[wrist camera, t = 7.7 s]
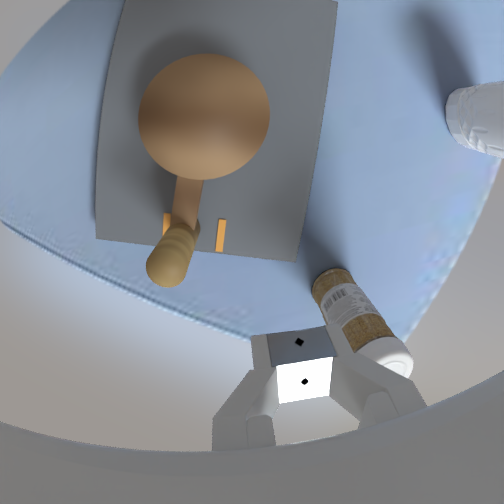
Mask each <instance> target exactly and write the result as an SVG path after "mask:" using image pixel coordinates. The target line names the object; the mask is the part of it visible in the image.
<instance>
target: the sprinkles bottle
mask: <svg viewBox="0 0 504 504" xmlns="http://www.w3.org/2000/svg"><path fill="white" fill-rule="evenodd" d="M312 295H313V298H314V300H315V302H316V303H317V304H318V306H319V308H320V310H321V312H322V314H323V318H324V321H325V323H326V325H329V324H334V323H338V324H339V325H340V327H341V329H342V331H343V333H344V335H345V336H346V338H347V340H348V342H349V344H350V346H351V348H352V350H353V352H354V353H357V352H358V353H360V354H362V355H364V356H366V357H368V358H369V359H371V360H373V361H375V362H377V363H379V364H381V365H383V366H384V367H386V368H388V369H390V370H392V371H394V372H396V373H398V374H400V375H402V376H404V377H406V378H408V377H409V376H410V374H411V372H412V369H413V358H412V355H411V354H410V352H409V351H408V349H407V348H406V346H405V345H404V343H403V342H402V341H401V340H399V339H398V338H397V337H396V336H395V335H394V334H393V333H392V331H391V330H390V328H389V327H388V326H387V324H386V322H385V320H384V319H383V318H382V316H381V315H380V313H379V312H378V311H377V310H376V308H375V307H374V305H373V304H372V303H371V301H370V300H369V299H368V297H367V296H366V295H365V293H364V292H363V291H362V289H361V288H360V287H358V285H357V284H356V283H355V282H354V280H353V278H352V276H351V274H350V273H349V272H347V271H346V270H344V269H337V268H334V269H329V270H327V271H325V272H323V273H322V274H321V275H320V276H319V277H318V278H317V279H316V280H315V282H314V285H313V289H312Z"/></svg>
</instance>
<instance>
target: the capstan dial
mask: <svg viewBox="0 0 504 504" xmlns="http://www.w3.org/2000/svg"><path fill="white" fill-rule="evenodd" d="M269 121H270V107H269V101H268V97H267V94H266V91H265V89H264V87H263V85H262V83H261V82H260V80H259V79H258V78H257V76H256V75H255V74H254V73H253V72H252V71H251V70H250V69H249V68H248V67H246V66H245V65H243V64H242V63H240V62H238V61H237V60H235V59H232V58H230V57H227V56H223V55H218V54H196V55H190V56H187V57H184V58H181V59H179V60H177V61H174V62H173V63H171V64H169V65H168V66H166V67H165V68H164V69H163V70H161V71H160V72H159V73H158V74H157V75H156V76H155V77H154V78H153V80H152V81H151V82H150V84H149V85H148V87H147V88H146V90H145V92H144V94H143V97H142V99H141V103H140V106H139V113H138V126H139V132H140V136H141V139H142V142H143V144H144V146H145V148H146V150H147V151H148V153H149V154H150V156H151V157H152V158H153V159H154V160H155V161H156V162H157V163H158V164H159V165H160V166H161V167H163V168H164V169H165V170H167V171H169V172H171V173H173V174H175V175H178V176H177V182H176V188H175V194H174V201H173V208H172V215H171V222H170V226H169V228H168V229H167V231H166V232H165V233H164V235H163V236H162V238H161V239H160V241H159V242H158V244H157V245H156V247H155V248H154V250H153V251H152V253H151V254H150V256H149V257H148V259H147V262H146V271H147V274H148V276H149V278H150V279H151V280H152V281H153V282H154V283H156V284H157V285H159V286H162V287H174V286H177V285H178V284H180V283H181V282H182V281H183V279H184V278H185V275H186V272H187V269H188V266H189V263H190V260H191V257H192V254H193V251H194V248H195V245H196V242H197V239H198V236H199V233H200V223H199V221H198V220H197V217H198V211H199V205H200V199H201V194H202V188H203V183H204V180H207V179H214V178H218V177H222V176H225V175H227V174H230V173H232V172H234V171H236V170H237V169H239V168H241V167H242V166H243V165H245V164H246V163H247V162H248V161H249V160H250V159H251V158H252V157H253V156H254V155H255V154H256V153H257V151H258V150H259V148H260V147H261V145H262V143H263V141H264V139H265V137H266V134H267V131H268V127H269Z"/></svg>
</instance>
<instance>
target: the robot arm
mask: <svg viewBox="0 0 504 504" xmlns="http://www.w3.org/2000/svg"><path fill="white" fill-rule="evenodd" d="M251 346H252V355H253V364H254V370H249V372H248V373H247V374H246V376H245V377H244V378H243V380H242V381H241V382H240V384H239V385H238V386H237V388H236V389H235V390H234V392H233V393H232V394H231V395H230V397H229V398H228V399H227V401H226V402H225V403H224V405H223V406H222V407H221V408H220V410H219V411H218V412H217V413H216V415H215V416H214V417H213V429H212V431H213V432H212V451H202V452H175V451H151V450H150V451H149V450H136V449H125V448H116V447H108V446H101V445H93V444H88V443H82V442H76V441H71V440H66V439H61V438H56V437H52V436H48V435H44V434H40V433H36V432H32V431H29V430H25V429H21V428H19V427H15V426H12V425H9V424H6V423H3V422H1V421H0V504H504V370H503V371H502V372H500V373H498V374H496V375H494V376H493V377H491V378H489V379H487V380H485V381H483V382H481V383H479V384H477V385H475V386H473V387H471V388H469V389H467V390H465V391H463V392H461V393H459V394H457V395H454V396H452V397H450V398H448V399H445V400H443V401H441V402H438V403H436V404H433V405H431V406H428V407H427V405H426V403H425V402H424V400H423V399H422V396H421V395H420V393H419V392H418V390H417V388H416V386H415V385H414V383H413V381H411V380H409V379H408V378H406V377H404V376H402V375H400V374H398V373H396V372H394V371H392V370H390V369H388V368H386V367H384V366H383V365H381V364H379V363H377V362H375V361H373V360H371V359H369V358H368V357H366V356H364V355H362V354H360V353H358V352H357V353H354V352H353V350H352V348H351V346H350V344H349V342H348V340H347V338H346V336H345V335H344V333H343V331H342V329H341V327H340V325H339V324H338V323H334V324H329V325H324V326H321V327H315V328H309V329H303V330H296V331H288V332H279V333H270V334H263V335H254V336H251ZM324 395H329V396H330V397H331V398H332V399H333V400H335V401H336V402H337V403H338V404H340V405H341V406H342V407H343V408H344V409H346V410H347V411H348V412H349V413H351V414H352V415H353V416H354V417H355V418H357V419H358V420H359V421H360V423H359V427H358V430H355V431H351V432H347V433H343V434H338V435H335V436H330V437H325V438H320V439H315V440H309V441H304V442H298V443H292V444H285V445H278V446H276V442H275V435H274V429H273V423H272V418H273V417H274V415H275V413H276V411H277V409H278V407H279V405H280V403H283V402H289V401H295V400H300V399H305V398H312V397H317V396H324Z"/></svg>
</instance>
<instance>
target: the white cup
mask: <svg viewBox="0 0 504 504" xmlns="http://www.w3.org/2000/svg"><path fill="white" fill-rule="evenodd" d="M445 108H446V122H447V125H448V128H449V131H450V133H451V135H452V136H453V137H454V139H455V140H456V141H457V143H459V144H460V145H462V146H464V147H466V148H469V149H473V150H478V151H480V152H483V153H486V154H490V155H492V156H496V157H499V158H502V159H504V81H498V82H490V83H485V84H478V85H474V86H471V87H466V88H459V89H456V90H455V91H453V92H452V93H451V94H450V95H449V97H448V100H447V103H446V106H445Z"/></svg>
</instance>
